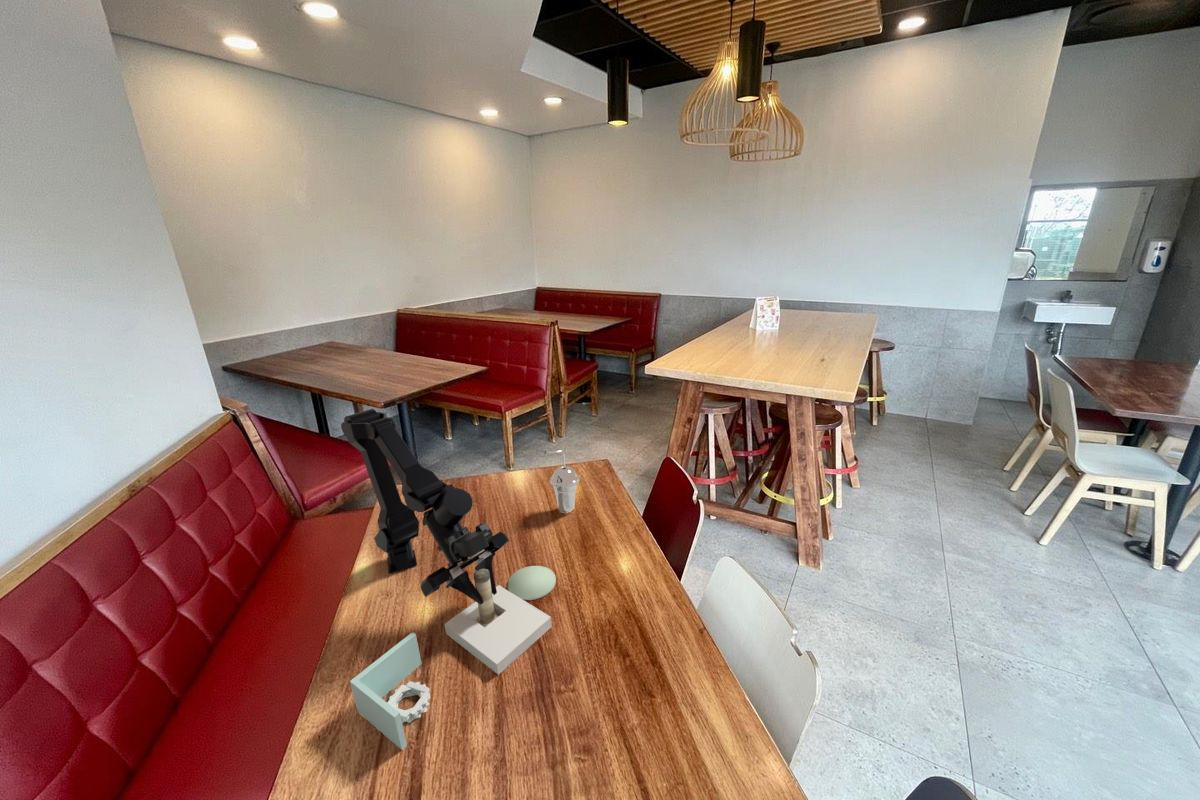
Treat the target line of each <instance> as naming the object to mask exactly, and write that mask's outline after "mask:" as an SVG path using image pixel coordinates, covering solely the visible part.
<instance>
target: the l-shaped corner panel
mask: <svg viewBox="0 0 1200 800" xmlns="http://www.w3.org/2000/svg"><path fill="white" fill-rule="evenodd" d="M421 665H422V659H421V653H420V650H419V643H418V639H417V634H416V633H415V632H413V631H411V632H410V633H409V634H408V635H407V636H405V637H404V638H403V639H402V640H400V641H399V642H398V643H396V644H395V645H394V646H393V647H391V648H390V649H389V650H388V651H386V652H385V653H384V654H382V655H381V656H380V657H378V658H377V659H376V660H375V661H374V662H373V663H371V664H370V665H368V666H367V667H366V668H364V670H362V671H361V672H360V673H358V674H357V675H356V676H355V677H353V678H352V679H351V680H350V681H349V683H350V687H351V691H352V695H353V698H354V702H355V705H356V710H357V713H358V712H359V713H360V714H362V715H363V716H364V717H365V718H366V719H367V720H368V721H369V723H370V722H371V723H370V724H371V725H372V724H373V725H374V726H375V727H376V728H375V727H374V726H373V725H372V726H373V727H374V728H375V729H377V730H378V731H379V732H380V731H381V732H382V733H383V734H382V733H381V732H380V733H381V734H382V735H383V736H385V737H386V738H387V739H388V740H390V741H391V742H392V744H394V745H395V746H396V747H398V748H399V749H400V750H401V751H404V750H405V748H407V746H408V744H407V740H406V734H405V730H404V726H403V724H404V723H406V722H407V723H408V724H411V723H412V721H414V720H417V719H420V718H421V717H422V714H423V713H427V712H428V707H429V706H430V702H429V700H430V699H431V694H430V688H429V687H428V686H426V683H423V684H421V683H420V681H416V682H414V681H412V680H409V681H408V682H407V683H406V684H401V685H400V683H401V682H402V681H404V680H405V679H406V678H407V677H408V676H409V675H410V674H412V673H413V672H414V671H415V670H416V669H418V668H419V666H421ZM398 685H400V686H399V687H398V688H396V689H395V687H397V686H398ZM393 689H395V690H394V694H393V695H389V700H388V701H386V700H384V699H383V698H384V697H385V696H386V695H388V693H390V692H391V691H392V690H393ZM389 691H390V692H389ZM383 696H384V697H383ZM414 696H418V697H419V699H418V701H417V702H416V703H415V704H414V705H413V707H410V708H408V709H402V708H399V703H400V702H401V701H402V700H403V699H404V698H408V697H409V698H410V697H414ZM382 697H383V698H382ZM359 713H358V714H359ZM360 714H359V715H360ZM363 716H362V717H363ZM364 717H363V718H364ZM365 718H364V719H365ZM366 719H365V720H366ZM367 720H366V721H367ZM368 721H367V722H368Z"/></svg>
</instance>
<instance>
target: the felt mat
mask: <svg viewBox="0 0 1200 800" xmlns="http://www.w3.org/2000/svg"><path fill="white" fill-rule="evenodd" d="M556 583H557V578H556V575H555V573H554V571H553V570H552V569H550V568H549V567H545V566H541V565H530V566H525V567H521V568H520V569H518V570H516V571H515V572H513V574H511V576H510V577H509V579H508V581H507V590H508V591H509V592H511V593H513V594H514V595H516V596H518V597H519V598H521V599H522V600H524V601H534V600H538V599H541V598H543V597H545V596H547V595H550V594H551V592H552V591H553V590H554V588H555V586H556Z"/></svg>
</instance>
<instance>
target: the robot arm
mask: <svg viewBox="0 0 1200 800" xmlns="http://www.w3.org/2000/svg"><path fill="white" fill-rule="evenodd" d="M340 427H341V431H342V434H343V435H344V436H345V437H346V439H347V441H348V443H349V444H350V445H352V447H354V448H355V449H357V450H358V451H359V452H360V453H361V457H362V460H363V462H364V465H365V468H366V471H367V473H368V476H369V480H370V482H371V486H372V488H373V492H374V493H375V496H376V499H377V503H378V505H379V509H380V511H379V515H378V518H377V523H376V524H377V526H378V529H379V530H378V532H377V534H376V535H375V536H374V537H373V538H374V541H375V544H376V547H377V548H378V549H380V550H382V551H383V552H385V553H386V554H387V557H386V561H387V569H388V570H387V571H388V574H393V573H397V572H400V571H403V570H406V569H409V568H412V567H416V566H417V565H418V561H417V557H416V552H415V550H414V549H413V545H412V539H414V538H417V537H419V536H420V535H419V534H420V531H419V530H420V521H419V518H418V517H417V516H416V513H415V512H418V513H423V514H422V515H423V518H422V520H421V521H422V522H421V523H422V525H423V526H427V528H428V530H429V532H430V534H431V535H432V536H433V538H434V540H435V541H436V543H437V545H438V546H437V547H436V548H437V550H438V551H439V553H440V552H442V554H443V555H444V556H445V559H446V561H448V563H447V568H446V567H445V566H442V567H440V568H439V569H437V570H435V571H434V572H432V573H430V574H429V575H427V576H426V577H425V578H424V580H422V581H421V584H420V589H421V592H422V594H423V595H424V597H425V598H426V597H428V596H430V595H431V594H433V593H434V592H436V591H437V590H439V589H440V586H441V585H443V584H444V583H446V586H445V588H446V589H449V588H452V589H455V590H457V592H458V591H459V592H461V594H464V595H465V596H467V597H468V598H470V599H472V600H473V601H474V602H477V603H479V604H480V605H481V604H483V603H484V602H483V600H482V597H481V596H480V594H479V593H478V591H477V590H476V587H475V584H473V582H472V581H471V579H470V576H469V573H468V570H465V571H463V570H464V569H465V568H467V567H469V566H470V565H472V564H473V563H475V564H476V566H474V570H475V572H476V571H477V570H479V569H488V570H489V572H490V582H491V590H492V594H493V595H495V594H496V593H497V590H496V587H497V585H496V582H495V577H494V571H493V559H494V557H495V556H496V553H497V552H498V551H499V550H500V549H502V548H503V547H504V546H505V545H507V544H508V543H509V542H510V539H509V537H508V536H507V534H506V533H504V532H502V531H499V532H497V533H496V534H494V535H493V532H492V529H491V528H490V526H489V525H488V523H487V522H482V523H479V524H478V525H476V526H475V530H474V531H472V532H471V531H470V530H469V528H468V527H467V526H465V527H463V525H462V524H461V521H462V520H463V519H464V518H465V517H466V516H467V514H468V513H470V511H471V510H472V508H473V505H474V504H473V501H474V500H473V497H472V495H471V494H470V493H469V492H467V491H466V490H464V489H463V488H462V489H461V488H457V487H454V484H453V483H451V484H447V483H445V482H444V481H442V480H440V479H439V477H438V476H437V475H436V474H435V473H434V471H432V470H430V469H428V468H426V467H423V466H422V465H421V464H420V463H419V462H420V461H418V459H417V458H416V456H415V454H413V452H412V451H411V449H410V448H409V446H408V445H407V443H406V441H404V439H403V438H402V436H401V434H400V433H399V432H398V430H397V429H396V424H395V421H394V420H393V419H392V418H391V417H389V416H388V415H387V412H386V413H385V412H380V411H376V410H375V409H374V408H370V409H366V410H362V411H359V412H355V413H352V414H349V415H348V414H347V415H346V416H344V418H343V422H342V421H341V424H340ZM390 466H391V467H392V469H393V470H394V472H395V473H396V475H397V476H398V478H399V479H400V481H401V495H402V496H403V498H404V502H405V503H403V501H402V498H401V495H400V493H399V490H398V487H397V484H396V481H395V477H394V475H393V472H392V469H391V467H390Z"/></svg>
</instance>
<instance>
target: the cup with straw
mask: <svg viewBox="0 0 1200 800" xmlns="http://www.w3.org/2000/svg"><path fill="white" fill-rule="evenodd" d="M544 454H561V456H562V457H561V458H562V460H561V461H562V466H559V467H558V468H556V469H555V470H554V472H553V474H552V475H551V476H550V478H549V483H550V485H551V486H553V487H552V488H553V491H554V493H555V498H556V504H557V508H558V511H559V510H560V511H561V512H564V513H568V512H571V511H572V510H573V509H574V510H575V503H576V492H577V491H576V490H577V486H578V483H580V476H579V475H578V473H576V470H574V469H573V467H571V466H567V465H566V455H565V454H566V453H565V451H564V450H562V449H561V450H544Z"/></svg>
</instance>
